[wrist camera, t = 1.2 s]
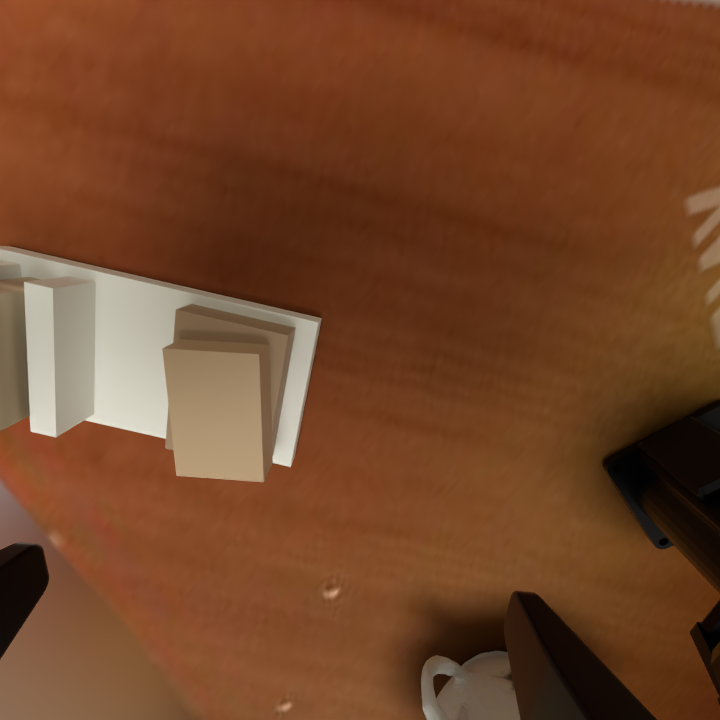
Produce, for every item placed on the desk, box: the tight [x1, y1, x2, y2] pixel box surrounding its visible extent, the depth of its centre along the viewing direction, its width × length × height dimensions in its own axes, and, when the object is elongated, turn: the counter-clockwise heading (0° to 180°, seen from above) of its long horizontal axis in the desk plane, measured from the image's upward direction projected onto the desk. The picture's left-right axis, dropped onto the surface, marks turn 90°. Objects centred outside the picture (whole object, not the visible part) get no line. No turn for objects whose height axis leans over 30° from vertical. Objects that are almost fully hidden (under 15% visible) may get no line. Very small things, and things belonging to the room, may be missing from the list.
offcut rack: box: [0, 246, 322, 482], centre depth 19 cm, size 16×8×4 cm, turn 78°
